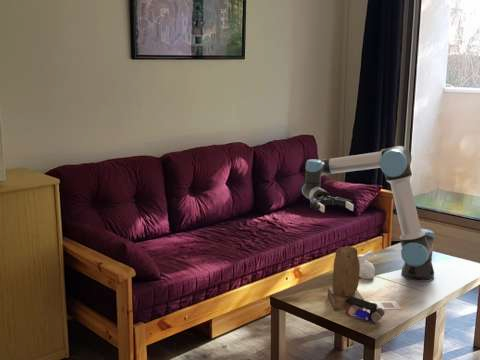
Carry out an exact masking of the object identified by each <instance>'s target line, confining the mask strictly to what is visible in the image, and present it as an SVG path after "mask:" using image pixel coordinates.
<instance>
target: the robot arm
mask: <svg viewBox="0 0 480 360" xmlns="http://www.w3.org/2000/svg"><path fill="white" fill-rule="evenodd" d="M412 160H413V159H412V153H411V151H410V150H409V149H408V148H407V147H405V146H403V145H395V146H392V147H388V148H382V149H381V150H380V151H375V152H368V153H362V154H356V155H355V154H354V155H347V156H341V157H333V158H322V159H314V158H313V159H307V160H306V163H305V174H304V175H305V177H304V184H303V185H302V187H301V193H302V195H303V196H304V197H305V198H306V199H308V200H309V201H310V202H309V208H310V209H313V210H315V211H317V210H319V211H320V212H321V213H325V209H326V207H325V206H329V205H330V206H331V205H332V206H335V205H337V206H341V207H342V206H343V207H345V208H346V209H348V210H350V211H352V212H353V211H354V207H355V205H354V204H353V200H351V199H349V198H348V199H347V198H344V197H339V196H338V195H337V196H335V197H334V196H331V195H330V193H329V192H328V191H326V190H325V189H323V188H321V186H322V185H321V183H322V182H321V181H322V177H323V176H325V175H326V176H327V175H332V174H339V173H349V172H355V171H356V172H357V171H365V170H371V169H379V168H380V170H381V171H382V173H383V174H384V177H385V181H386V182H387V183H389V184H390V188H391V191H392V192H391V193H392V197H393V201H394V205H395V210H396V213H397V219H398V222H399V227H400V231H401V235H400V236H399V240H400V242H399V243H400V245H401V249H400V255H401V259H402V261H403V266H402V267H401V272H400V273H401V275H402V276H403V277H405V278H407V279H410V280H413V281H419V282H427V281H432V280H434V279H435V270H434V266H433V263H432V261H433V253H434V252H433V251H434V250H433V249H434V240H435V232H434V231H432V230H430V229H425V228H421V223H420V218H419V215H418V210H417V206H416V202H415V198H414V194H413V189H412V185H411V180H410V179H411V178H412V176H413V174H412V170H411V163H412Z"/></svg>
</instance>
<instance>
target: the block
mask: <svg viewBox="0 0 480 360" xmlns="http://www.w3.org/2000/svg"><path fill="white" fill-rule="evenodd" d="M334 255H335V257H334V259H333V260H334V261H333V269H332V270H333V271H332V287H333V292H334V293H335V294H337V295H339V296H343V297H348V296H351V295H352V294H354V293H355V292H356V290H358V287H359V282H360V277H359V272H360V263H359V259H358V257H357V256H358V249H357V247H356V248H355V247H353V246H349V245H346V246H341V247H340V248H337V249H335V254H334Z"/></svg>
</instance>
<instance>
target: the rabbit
mask: <svg viewBox="0 0 480 360" xmlns="http://www.w3.org/2000/svg"><path fill="white" fill-rule="evenodd" d="M374 252H375V251H374V250H373V249H370V250H368V251H367V252H366V253H364V254H357V257H358V259H359V263H360V272H359V278H362V279H364V280H373V279H374V278H375V275H376V274H375V273H376V268H375V267H374V265H373V263H371V262H369V261H368V260H367V258H371V257H373V256H374V254H375V253H374Z"/></svg>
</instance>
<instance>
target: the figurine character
mask: <svg viewBox="0 0 480 360" xmlns="http://www.w3.org/2000/svg"><path fill="white" fill-rule="evenodd" d="M368 301H369V300H362V299H358V298H355V297H352V296H351V297H349V298H348V299H347V300H345V302H347V303H350V304H349V305H348V306H347V307H346V309H345V311H344V312H345V314H346V315H347V316H349V317H350V318H351V317H357V318H359V319H363V320H365V321H367V322H369V323H371V324H372V325H376V323H377V321H378V322H380V320H381V319H382V318H383V317H384V316H385V315H386V310H383V309H382V308H377V304H374V303H371V302H368ZM355 305H356V306H359V307H362V308H363V310H361V309H358V308H357V307H356V306H355ZM364 309H365V310H364ZM366 309H368V310H366ZM375 322H376V323H375Z"/></svg>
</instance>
